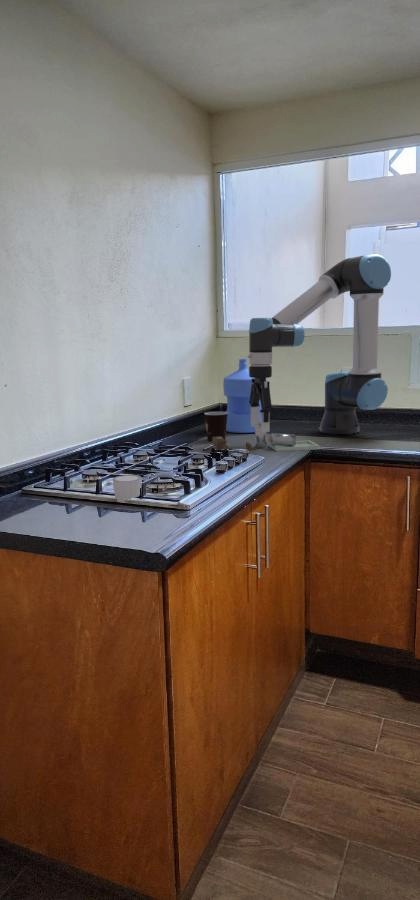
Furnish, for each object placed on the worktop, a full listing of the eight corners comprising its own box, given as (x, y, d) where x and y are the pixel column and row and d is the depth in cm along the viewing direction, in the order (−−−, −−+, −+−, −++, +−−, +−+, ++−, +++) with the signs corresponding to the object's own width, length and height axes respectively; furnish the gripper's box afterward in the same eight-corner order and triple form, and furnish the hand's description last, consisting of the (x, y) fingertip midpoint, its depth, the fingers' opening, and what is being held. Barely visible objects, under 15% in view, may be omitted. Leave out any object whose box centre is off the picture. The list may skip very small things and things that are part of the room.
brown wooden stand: (246, 447, 205) (246, 433, 204) (253, 453, 197) (253, 438, 196) (212, 449, 203) (212, 435, 202) (217, 455, 195) (217, 440, 194)
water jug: (245, 425, 251) (244, 357, 245) (271, 430, 238) (271, 358, 233) (216, 429, 241) (214, 359, 236) (241, 435, 229) (240, 361, 223)
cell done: (293, 433, 204) (268, 432, 203) (296, 435, 200) (271, 433, 199) (291, 445, 205) (267, 443, 203) (295, 447, 201) (270, 445, 199)
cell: (265, 446, 207) (264, 421, 205) (268, 448, 203) (268, 423, 201) (253, 447, 206) (253, 422, 204) (256, 449, 202) (256, 424, 201)
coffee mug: (225, 442, 215) (225, 415, 213) (202, 442, 216) (201, 414, 214) (231, 436, 226) (231, 410, 224) (208, 436, 227) (208, 410, 225)
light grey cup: (129, 500, 146) (127, 473, 145) (149, 505, 142) (147, 477, 141) (107, 507, 141) (106, 479, 140) (127, 513, 137) (126, 483, 136)
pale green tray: (309, 444, 209) (309, 440, 209) (319, 449, 200) (319, 445, 199) (268, 446, 206) (268, 442, 206) (276, 452, 197) (276, 448, 197)
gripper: (240, 363, 210) (240, 423, 215) (259, 367, 186) (258, 435, 190) (261, 363, 212) (260, 422, 216) (282, 367, 188) (281, 434, 192)
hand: (259, 428), depth 203 cm, fingers open, 13 cm apart
